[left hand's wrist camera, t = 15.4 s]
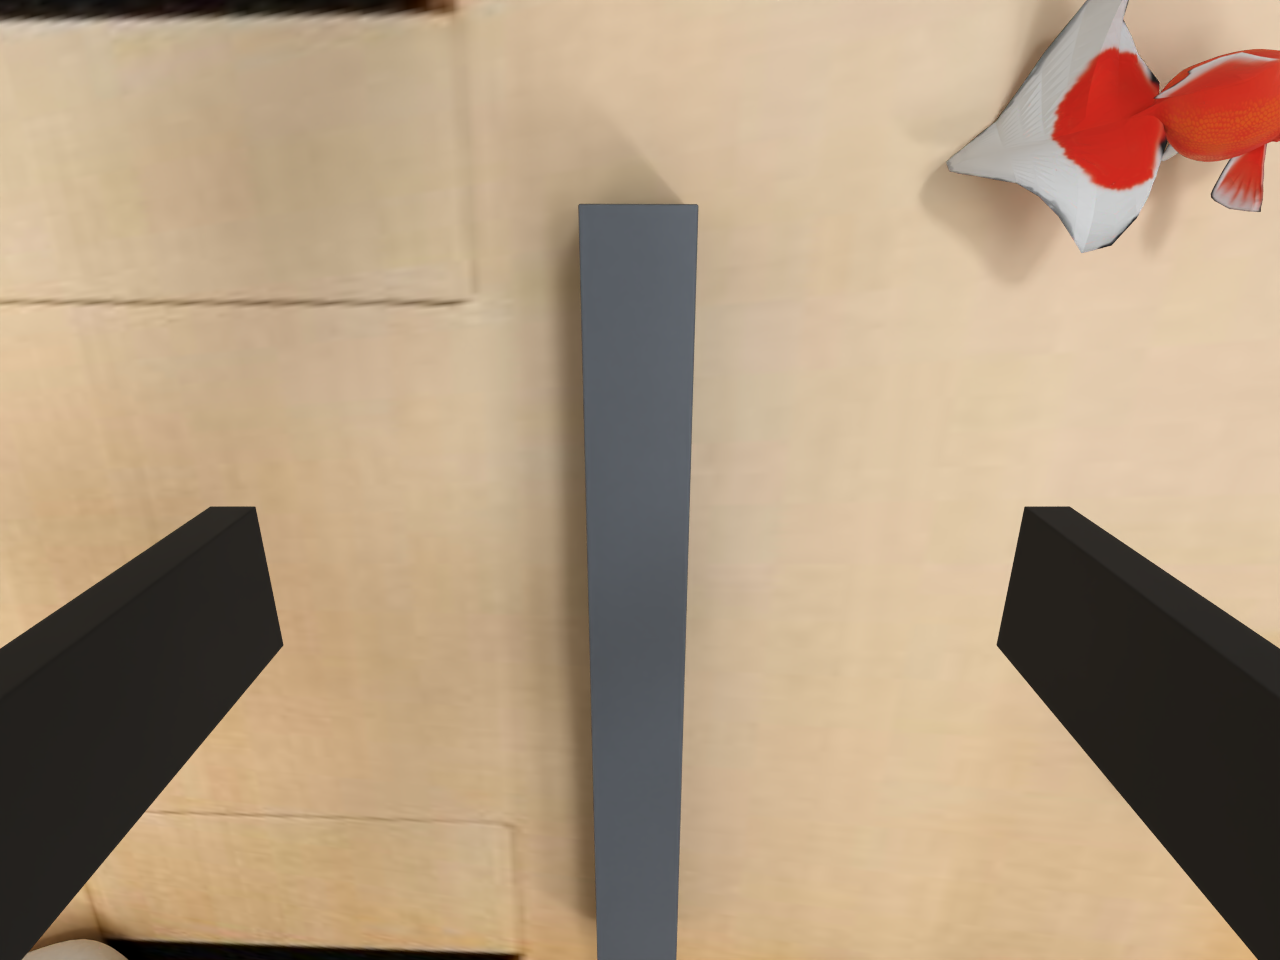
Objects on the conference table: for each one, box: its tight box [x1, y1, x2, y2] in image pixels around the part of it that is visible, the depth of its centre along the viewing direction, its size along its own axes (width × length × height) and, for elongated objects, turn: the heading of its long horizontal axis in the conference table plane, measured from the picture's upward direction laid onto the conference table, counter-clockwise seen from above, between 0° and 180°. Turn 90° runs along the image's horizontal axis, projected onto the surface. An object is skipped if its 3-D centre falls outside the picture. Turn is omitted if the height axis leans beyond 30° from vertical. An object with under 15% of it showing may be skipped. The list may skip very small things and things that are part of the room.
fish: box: [946, 0, 1280, 253], centre depth 32 cm, size 11×16×10 cm
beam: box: [578, 204, 698, 960], centre depth 42 cm, size 51×5×8 cm, turn 0°
